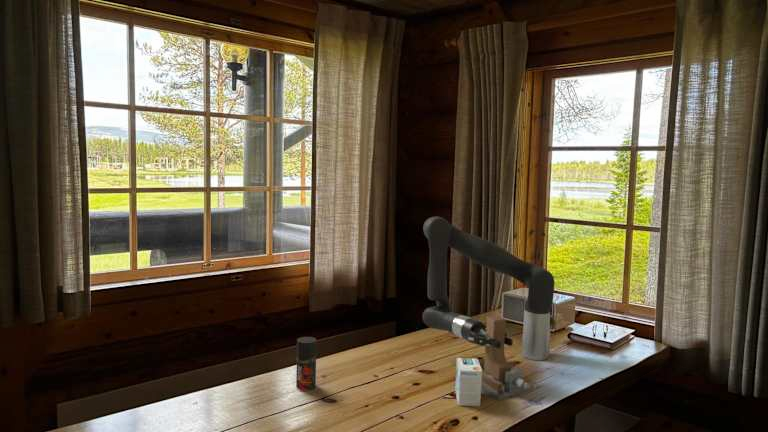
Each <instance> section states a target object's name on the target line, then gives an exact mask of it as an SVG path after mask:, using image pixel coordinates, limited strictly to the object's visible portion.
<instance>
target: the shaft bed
mask: <svg viewBox="0 0 768 432" xmlns="http://www.w3.org/2000/svg"><path fill="white" fill-rule="evenodd" d="M524 372H525V371H524V370H523V369H521V368H515V369H511V370H510V371H506V372H505V380H500V381H499V380H497V379H496V378H494V377H493V376H492V375H490V374H487V375H486V376H488V377H490V378H492V379H494V380H496V381H498V382H501V383H503V384H502V391H501V392H498V393H497V392H495V391H493V390H491V389H489V388H487V387H485V386H483V385H481V393H484V394H486V395H488V396H489V397H491V398H494V399H496V400H497V401H501V400H504V399H508V398H511V397H513V396H516V395H519V394H520V395H521V394H523V393H526V392H530V391H533V390H535V385H533V384H531V383H528V382H526V381H525V379H524V380H523V377H524Z"/></svg>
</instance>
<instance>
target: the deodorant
mask: <svg viewBox="0 0 768 432" xmlns="http://www.w3.org/2000/svg"><path fill="white" fill-rule="evenodd" d="M317 340H318V339H317V338H316V337H313V336H301V337H299V338H297V339H296V375H295V376H296V378H295V379H296V382H295V384H296V385H295V387H297V388H298V389H300V390H299V391H301V390H303V391H302V392H309V391H313V390H315V389H316V384H317V381H316V379H317ZM297 388H296V389H297ZM298 389H297V390H298Z"/></svg>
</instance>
